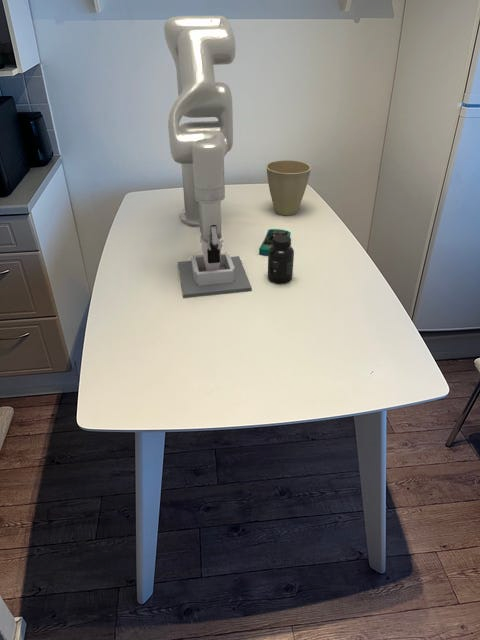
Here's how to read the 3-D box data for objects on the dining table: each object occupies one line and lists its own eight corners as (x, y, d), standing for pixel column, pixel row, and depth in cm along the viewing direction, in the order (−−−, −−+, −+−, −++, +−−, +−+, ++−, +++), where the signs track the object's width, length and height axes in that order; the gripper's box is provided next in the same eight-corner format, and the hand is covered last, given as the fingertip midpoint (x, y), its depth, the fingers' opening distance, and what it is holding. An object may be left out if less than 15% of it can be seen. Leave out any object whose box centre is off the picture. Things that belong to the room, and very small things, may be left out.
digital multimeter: (290, 237, 157) (291, 229, 155) (282, 258, 145) (283, 249, 143) (268, 235, 158) (268, 227, 156) (258, 256, 146) (258, 247, 145)
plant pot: (309, 219, 167) (313, 173, 158) (265, 219, 167) (267, 173, 158) (305, 203, 179) (308, 159, 170) (264, 203, 179) (265, 159, 170)
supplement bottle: (262, 278, 135) (263, 238, 128) (278, 269, 139) (279, 230, 132) (281, 287, 131) (283, 246, 124) (297, 277, 135) (300, 238, 128)
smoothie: (206, 277, 130) (204, 229, 122) (197, 266, 135) (194, 219, 127) (228, 271, 133) (227, 224, 125) (218, 261, 137) (216, 215, 129)
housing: (177, 264, 141) (176, 250, 138) (239, 259, 144) (238, 245, 141) (183, 297, 127) (182, 282, 124) (251, 290, 129) (251, 276, 127)
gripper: (190, 181, 128) (194, 243, 138) (198, 206, 114) (202, 273, 124) (219, 179, 129) (221, 241, 139) (230, 204, 115) (231, 270, 125)
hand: (212, 256), depth 132 cm, fingers closed on smoothie, 5 cm apart
